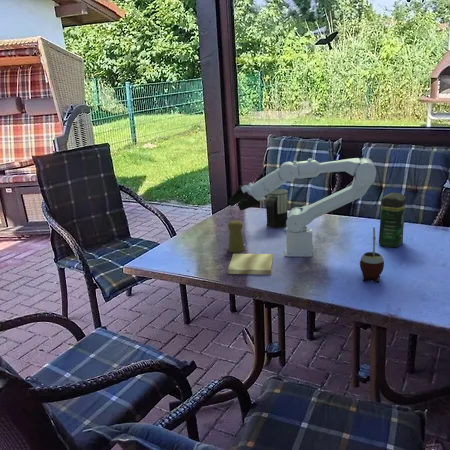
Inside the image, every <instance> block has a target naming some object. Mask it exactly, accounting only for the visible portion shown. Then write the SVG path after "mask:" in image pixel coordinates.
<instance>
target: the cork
mask: <svg viewBox="0 0 450 450" xmlns="http://www.w3.org/2000/svg"><path fill="white" fill-rule="evenodd" d="M227 224H228V225H227V226H228V230H229V237H228V238H229V240H228V252H229V253H233V254H238V253H242V252H244V251H245V245H244V238H243V234H242V233H243V231H242V229H243V223H242V221H241V220H230V221H229V222H228V223H227Z"/></svg>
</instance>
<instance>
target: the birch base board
mask: <svg viewBox="0 0 450 450" xmlns="http://www.w3.org/2000/svg"><path fill="white" fill-rule="evenodd" d="M273 261H274V253H233V254H232V257H231V260H230V262H229V265H228V267H227V274H228V275H271V274H272V268H273Z"/></svg>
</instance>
